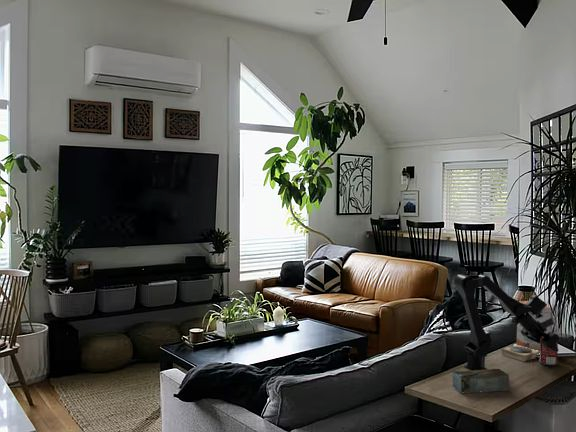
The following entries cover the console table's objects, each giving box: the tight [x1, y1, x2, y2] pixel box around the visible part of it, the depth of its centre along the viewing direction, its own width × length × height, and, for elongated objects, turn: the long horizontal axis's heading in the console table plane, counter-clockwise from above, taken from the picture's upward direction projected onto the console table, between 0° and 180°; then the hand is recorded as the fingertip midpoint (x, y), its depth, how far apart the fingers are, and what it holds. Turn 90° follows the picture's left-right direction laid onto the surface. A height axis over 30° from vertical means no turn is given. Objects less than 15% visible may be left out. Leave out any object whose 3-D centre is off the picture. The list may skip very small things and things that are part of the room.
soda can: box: [538, 338, 559, 367], centre depth 235 cm, size 7×7×12 cm
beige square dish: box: [501, 344, 540, 362], centre depth 246 cm, size 11×11×3 cm
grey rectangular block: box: [451, 368, 510, 394], centre depth 208 cm, size 8×19×7 cm, turn 99°
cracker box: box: [516, 300, 552, 351], centre depth 254 cm, size 14×6×21 cm, turn 23°
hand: (551, 348), depth 236 cm, fingers open, 7 cm apart
